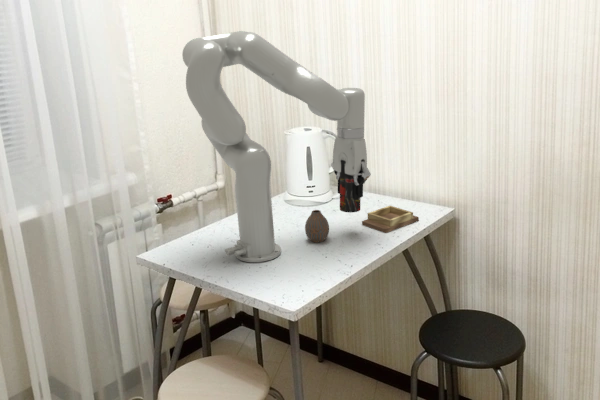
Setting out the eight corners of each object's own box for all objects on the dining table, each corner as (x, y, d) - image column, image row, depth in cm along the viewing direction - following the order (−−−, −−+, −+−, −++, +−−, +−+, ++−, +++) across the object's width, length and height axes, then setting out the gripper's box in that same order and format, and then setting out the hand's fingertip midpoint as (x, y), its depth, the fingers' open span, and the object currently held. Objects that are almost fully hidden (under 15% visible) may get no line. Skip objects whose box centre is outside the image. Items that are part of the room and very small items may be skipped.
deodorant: (361, 212, 188) (361, 161, 183) (340, 212, 188) (340, 161, 183) (359, 206, 193) (360, 156, 189) (339, 206, 193) (339, 156, 189)
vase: (327, 244, 186) (326, 215, 183) (303, 244, 188) (301, 215, 185) (331, 235, 193) (330, 207, 190) (308, 235, 194) (306, 207, 191)
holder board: (385, 233, 192) (385, 222, 191) (362, 224, 199) (361, 214, 198) (418, 220, 200) (418, 210, 199) (394, 213, 207) (394, 203, 206)
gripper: (320, 130, 188) (320, 191, 193) (362, 139, 175) (361, 204, 180) (340, 127, 193) (340, 186, 198) (382, 135, 180) (380, 199, 185)
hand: (350, 194), depth 189 cm, fingers closed on deodorant, 5 cm apart
